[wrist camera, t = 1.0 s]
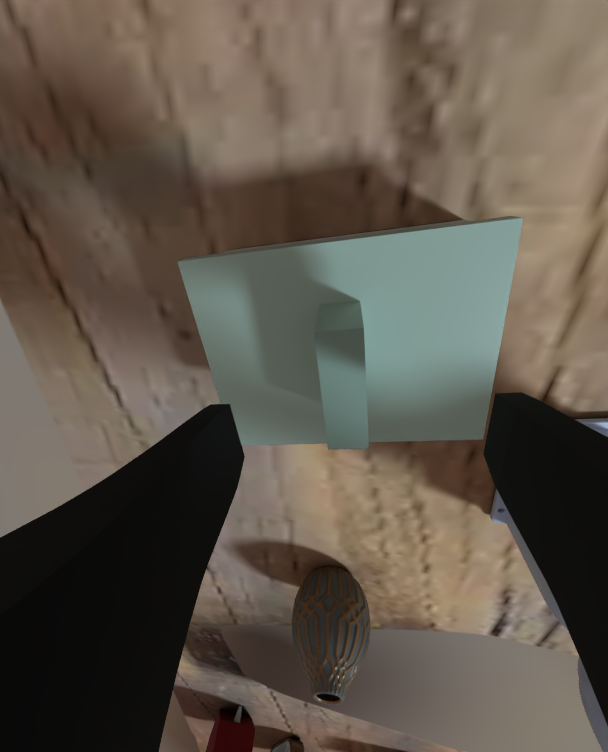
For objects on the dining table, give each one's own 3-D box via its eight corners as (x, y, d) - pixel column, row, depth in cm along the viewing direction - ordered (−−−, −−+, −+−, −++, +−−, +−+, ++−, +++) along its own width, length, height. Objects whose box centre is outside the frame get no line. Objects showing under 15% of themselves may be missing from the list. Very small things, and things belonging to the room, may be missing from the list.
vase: (342, 603, 33) (342, 722, 26) (285, 579, 32) (267, 696, 25) (381, 575, 30) (394, 702, 23) (319, 547, 29) (311, 670, 22)
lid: (471, 419, 17) (511, 489, 13) (242, 427, 19) (213, 489, 15) (502, 215, 12) (581, 224, 8) (193, 255, 14) (133, 277, 10)
